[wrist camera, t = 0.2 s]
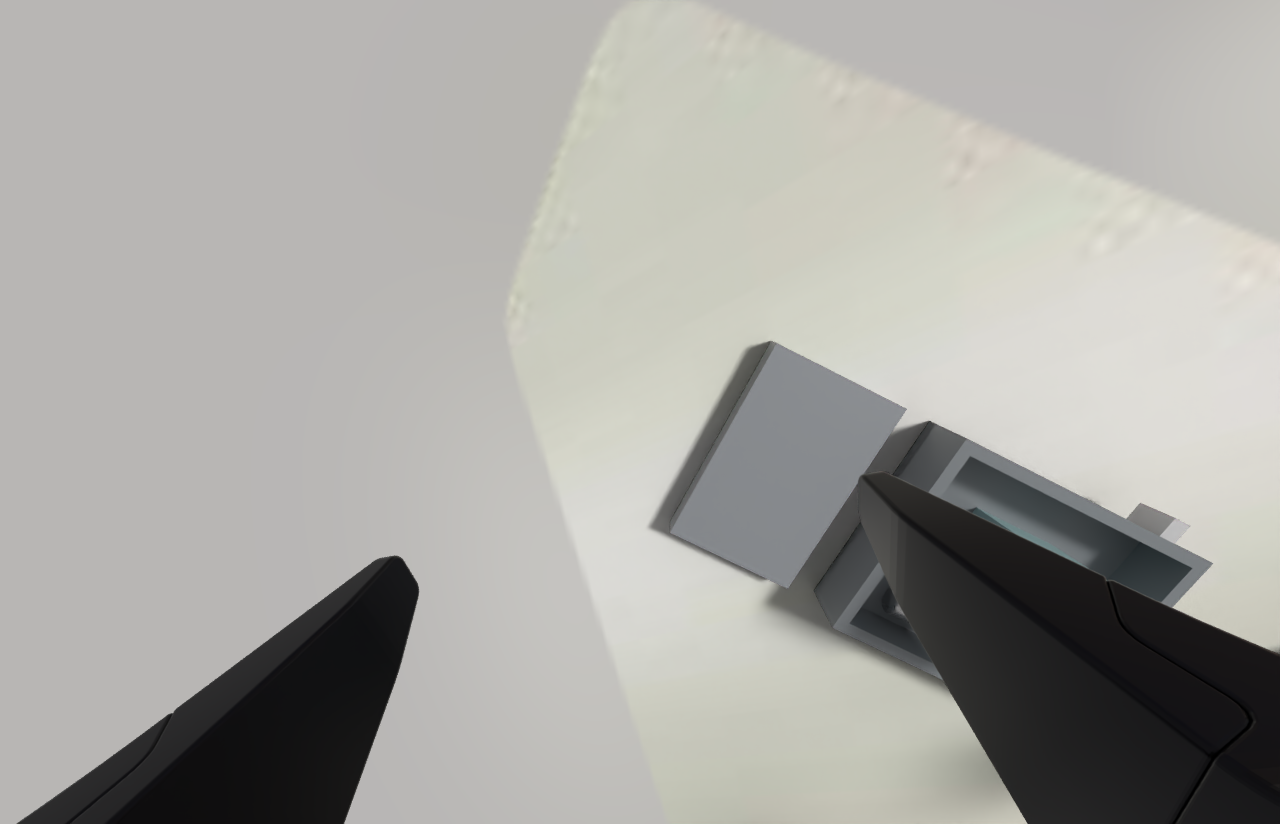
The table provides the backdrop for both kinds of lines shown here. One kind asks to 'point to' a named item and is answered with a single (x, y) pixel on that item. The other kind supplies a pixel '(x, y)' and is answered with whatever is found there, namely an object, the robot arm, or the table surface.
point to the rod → (892, 606)
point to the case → (1026, 501)
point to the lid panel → (783, 465)
